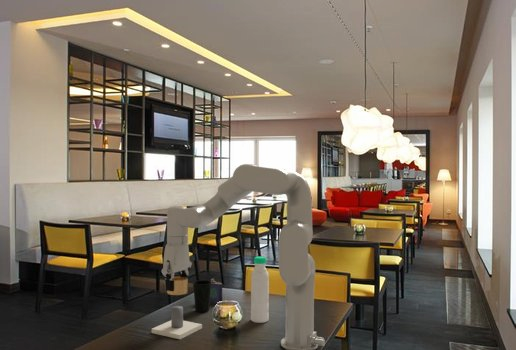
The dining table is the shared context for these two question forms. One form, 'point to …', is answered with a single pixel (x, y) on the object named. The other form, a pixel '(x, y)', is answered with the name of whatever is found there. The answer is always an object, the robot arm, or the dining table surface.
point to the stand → (177, 325)
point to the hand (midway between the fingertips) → (177, 287)
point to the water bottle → (259, 291)
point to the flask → (215, 292)
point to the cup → (202, 295)
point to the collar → (179, 286)
